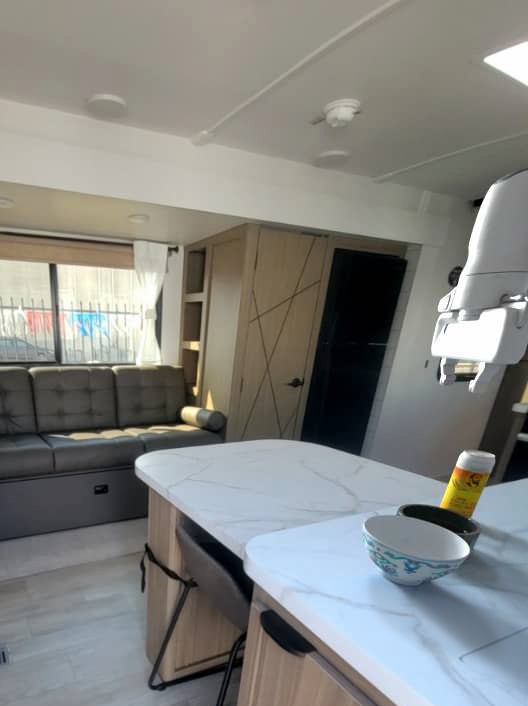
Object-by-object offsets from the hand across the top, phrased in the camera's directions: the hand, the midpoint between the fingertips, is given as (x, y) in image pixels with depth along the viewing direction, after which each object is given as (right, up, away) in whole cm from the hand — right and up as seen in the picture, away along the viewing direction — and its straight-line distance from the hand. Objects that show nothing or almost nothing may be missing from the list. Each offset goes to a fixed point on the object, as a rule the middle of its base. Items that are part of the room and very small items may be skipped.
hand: (460, 388), depth 69 cm
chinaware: (-10, -32, +1) cm, 33 cm away
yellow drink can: (+16, -22, +23) cm, 36 cm away
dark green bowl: (+2, -27, +11) cm, 29 cm away
